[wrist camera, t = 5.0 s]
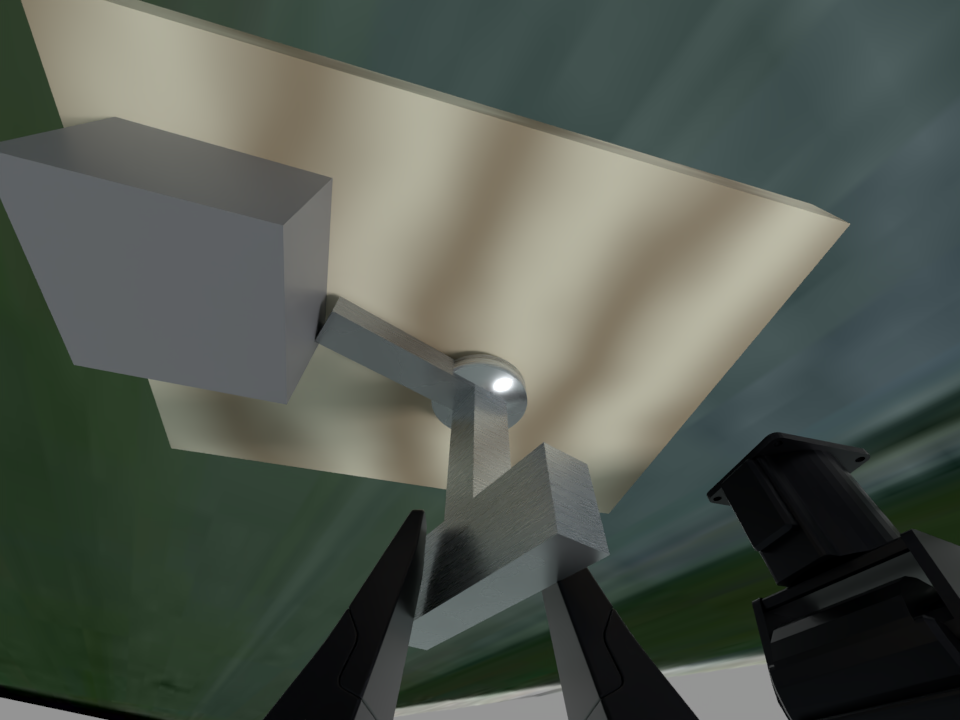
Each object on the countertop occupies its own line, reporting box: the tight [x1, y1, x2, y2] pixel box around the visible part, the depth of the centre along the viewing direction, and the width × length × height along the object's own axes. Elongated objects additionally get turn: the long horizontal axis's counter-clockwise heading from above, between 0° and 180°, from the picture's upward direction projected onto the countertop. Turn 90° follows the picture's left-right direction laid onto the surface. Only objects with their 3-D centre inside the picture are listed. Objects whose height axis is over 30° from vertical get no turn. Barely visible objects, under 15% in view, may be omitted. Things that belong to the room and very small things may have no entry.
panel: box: [21, 0, 850, 514], centre depth 18 cm, size 24×18×2 cm
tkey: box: [315, 296, 610, 650], centre depth 13 cm, size 8×9×8 cm
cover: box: [0, 117, 333, 405], centre depth 12 cm, size 6×6×4 cm
